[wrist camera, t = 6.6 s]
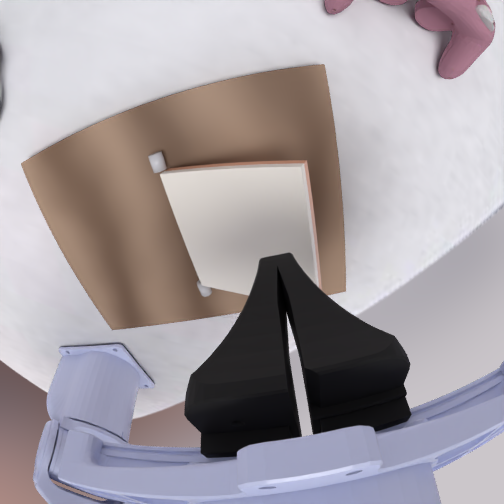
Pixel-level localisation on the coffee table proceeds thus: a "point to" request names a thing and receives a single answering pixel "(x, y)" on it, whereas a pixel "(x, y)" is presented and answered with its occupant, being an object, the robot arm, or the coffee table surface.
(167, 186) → the hinged panel
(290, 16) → the coffee table surface
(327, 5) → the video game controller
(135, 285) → the board
